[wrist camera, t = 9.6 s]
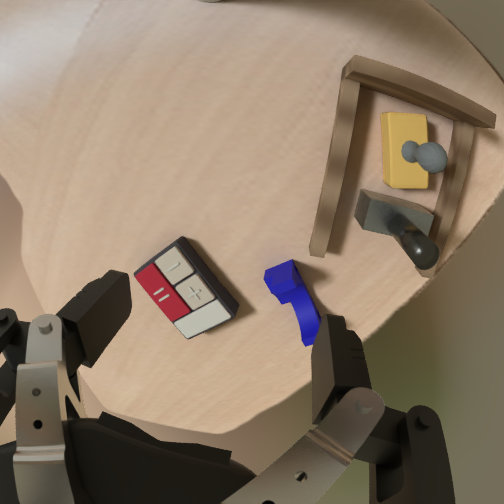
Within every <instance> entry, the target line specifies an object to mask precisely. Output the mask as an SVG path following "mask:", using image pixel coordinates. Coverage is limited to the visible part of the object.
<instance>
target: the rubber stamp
mask: <svg viewBox="0 0 504 504" xmlns="http://www.w3.org/2000/svg"><path fill="white" fill-rule="evenodd" d="M380 116H381V129H382V146H383V178H384V183H385V184H387V185H388V186H390V187H391V188H427V187H428V183H429V172H430V173H433V174H435V173H439V172H442V171H443V170H444V169H445V167H446V166H447V162H448V158H447V153H446V151H445V150H444V149H443V147H442V146H441V145H439V144H437V143H434V142H428V124H427V117H426V115H423V114H412V113H397V112H386V113H381V115H380Z"/></svg>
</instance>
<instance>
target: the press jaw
mask: <svg viewBox="0 0 504 504" xmlns="http://www.w3.org/2000/svg"><path fill="white" fill-rule="evenodd" d="M354 217H355V218H356V220H357V221H358V223H359V224H360V226H361V228H362V229H363V230H368V231H372V232H377V233H381V234H386V235H390V236H393V237H394V238H395V240H396V241H397V242H398V243H399V245H400V246H401V247H402V248H403V250H404V251H405V252H406V253H407V255H408V256H409V257H410V259H411V260H412V261H413V263H414V264H415V265H416V267H417V268H419V269H421V270H428V269H430V268H432V267H433V266H434V265H435V264H436V263H437V261H438V259H439V248H438V247H437V245H436V244H435V243H434V242H433V241H432V240H431V239H429V238H428V234H429V231H430V227H431V224H432V221H433V218H434V215H433V214H431V213H430V212H429V211H427V210H426V209H424V208H423V207H422V206H420V205H419V204H416V203H413V202H409V201H406V200H402V199H398V198H395V197H391V196H387V195H383V194H379V193H375V192H371V191H367V190H363V189H361V190H360V194H359V198H358V202H357V206H356V210H355V214H354Z"/></svg>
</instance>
